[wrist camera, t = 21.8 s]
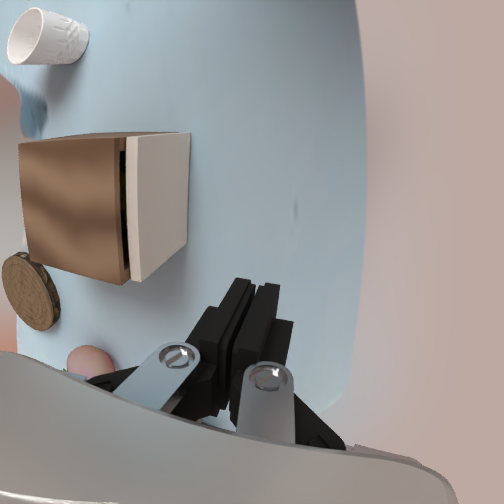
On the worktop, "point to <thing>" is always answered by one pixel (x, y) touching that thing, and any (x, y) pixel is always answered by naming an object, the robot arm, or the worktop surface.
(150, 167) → the drawer
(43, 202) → the cabinet
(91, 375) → the decorative fruit
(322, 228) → the worktop surface
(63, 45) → the white cup
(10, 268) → the brown round disc
